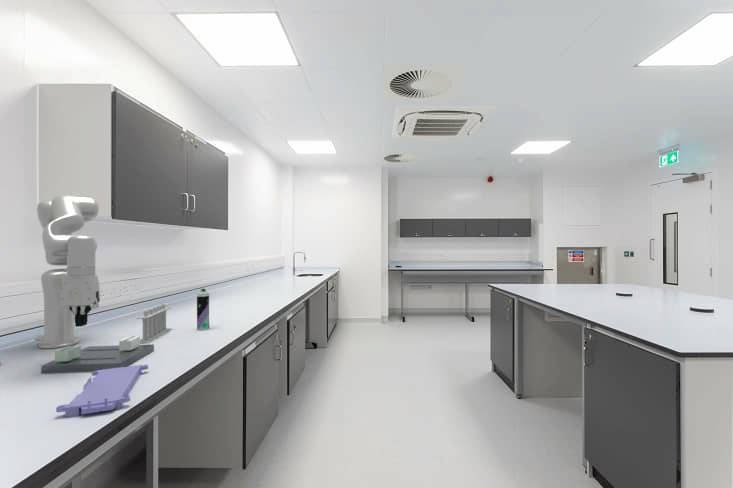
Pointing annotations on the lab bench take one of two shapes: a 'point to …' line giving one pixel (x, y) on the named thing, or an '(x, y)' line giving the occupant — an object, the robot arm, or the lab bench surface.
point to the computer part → (104, 391)
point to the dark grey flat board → (98, 359)
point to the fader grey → (129, 343)
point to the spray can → (203, 310)
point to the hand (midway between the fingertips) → (81, 325)
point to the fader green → (67, 353)
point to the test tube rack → (154, 323)
